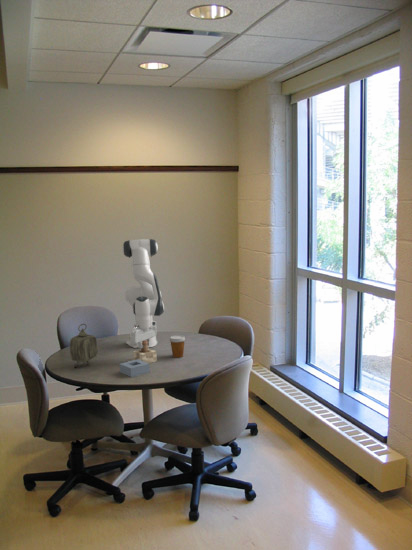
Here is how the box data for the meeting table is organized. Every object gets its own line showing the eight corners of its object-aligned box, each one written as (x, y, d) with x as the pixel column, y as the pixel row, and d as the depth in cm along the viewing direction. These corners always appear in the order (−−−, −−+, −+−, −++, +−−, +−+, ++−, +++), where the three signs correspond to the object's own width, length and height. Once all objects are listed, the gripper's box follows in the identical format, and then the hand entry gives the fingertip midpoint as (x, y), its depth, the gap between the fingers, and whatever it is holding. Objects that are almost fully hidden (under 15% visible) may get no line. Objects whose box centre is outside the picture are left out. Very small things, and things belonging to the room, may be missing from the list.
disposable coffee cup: (183, 358, 338) (183, 339, 337) (168, 358, 340) (167, 338, 339) (187, 354, 348) (186, 335, 346) (172, 353, 350) (171, 334, 348)
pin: (140, 361, 336) (139, 341, 335) (146, 359, 339) (145, 340, 337) (144, 362, 333) (143, 342, 332) (149, 361, 336) (148, 341, 334)
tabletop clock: (87, 361, 340) (84, 320, 336) (99, 363, 335) (96, 321, 332) (71, 368, 327) (68, 326, 323) (83, 370, 323) (80, 327, 319)
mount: (133, 361, 337) (132, 351, 336) (147, 357, 343) (147, 348, 342) (142, 364, 329) (142, 354, 328) (156, 361, 335) (156, 351, 335)
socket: (120, 372, 316) (119, 363, 316) (138, 367, 324) (137, 359, 323) (131, 377, 307) (131, 368, 306) (149, 372, 315) (149, 363, 314)
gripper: (135, 328, 323) (137, 352, 325) (158, 321, 339) (159, 343, 341) (127, 327, 326) (128, 350, 328) (149, 320, 343) (151, 342, 345)
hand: (144, 347), depth 335 cm, fingers closed on pin, 4 cm apart
